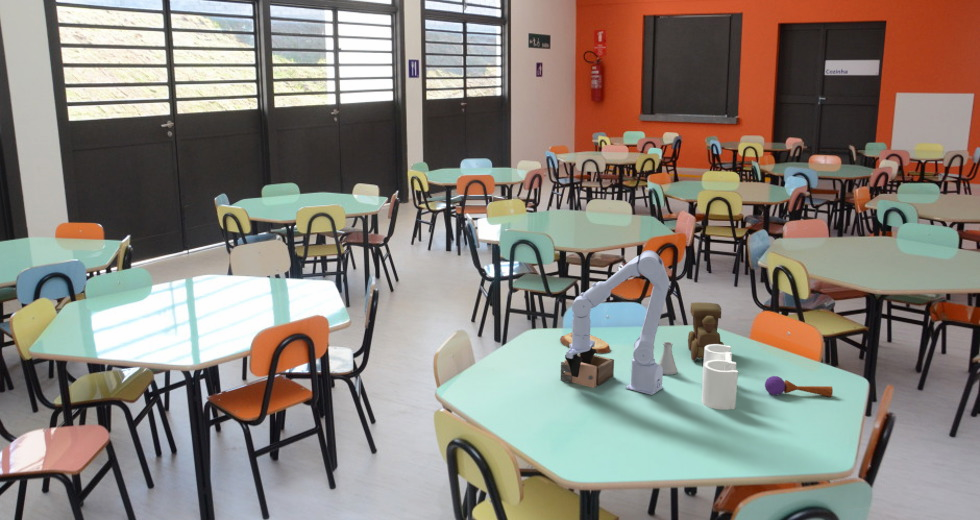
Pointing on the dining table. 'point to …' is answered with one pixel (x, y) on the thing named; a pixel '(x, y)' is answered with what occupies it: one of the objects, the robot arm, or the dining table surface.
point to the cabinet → (603, 369)
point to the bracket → (719, 377)
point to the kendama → (794, 387)
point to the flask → (668, 360)
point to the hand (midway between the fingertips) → (580, 373)
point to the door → (584, 375)
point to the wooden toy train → (703, 328)
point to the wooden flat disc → (599, 344)
